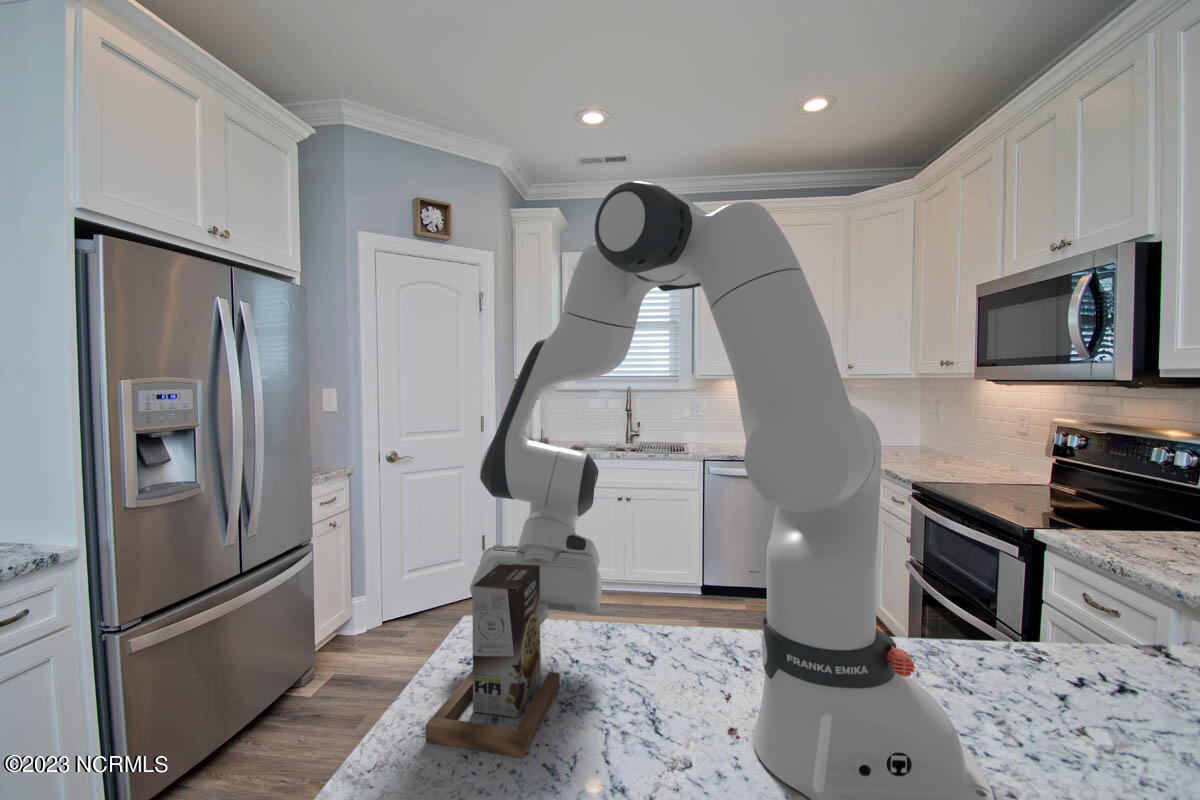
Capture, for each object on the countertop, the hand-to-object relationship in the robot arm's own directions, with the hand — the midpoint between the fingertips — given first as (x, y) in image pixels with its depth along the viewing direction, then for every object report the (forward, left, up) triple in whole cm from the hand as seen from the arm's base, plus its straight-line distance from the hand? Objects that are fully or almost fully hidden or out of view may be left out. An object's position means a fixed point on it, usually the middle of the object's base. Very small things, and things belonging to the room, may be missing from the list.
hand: (523, 636), depth 72 cm
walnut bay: (0, +8, -5) cm, 10 cm away
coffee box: (0, +5, -6) cm, 8 cm away
